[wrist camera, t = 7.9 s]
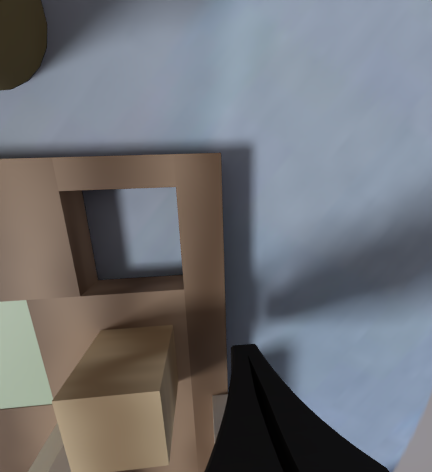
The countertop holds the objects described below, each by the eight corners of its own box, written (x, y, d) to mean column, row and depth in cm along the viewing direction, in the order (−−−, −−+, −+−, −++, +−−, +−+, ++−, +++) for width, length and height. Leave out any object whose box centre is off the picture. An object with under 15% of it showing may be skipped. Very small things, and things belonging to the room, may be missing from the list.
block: (173, 324, 12) (159, 391, 8) (178, 381, 13) (168, 465, 9) (100, 330, 12) (51, 401, 8) (111, 387, 13) (72, 476, 9)
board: (217, 158, 12) (220, 152, 10) (228, 482, 18) (231, 517, 16) (-108, 167, 11) (-174, 163, 9) (20, 508, 17) (-3, 549, 15)
